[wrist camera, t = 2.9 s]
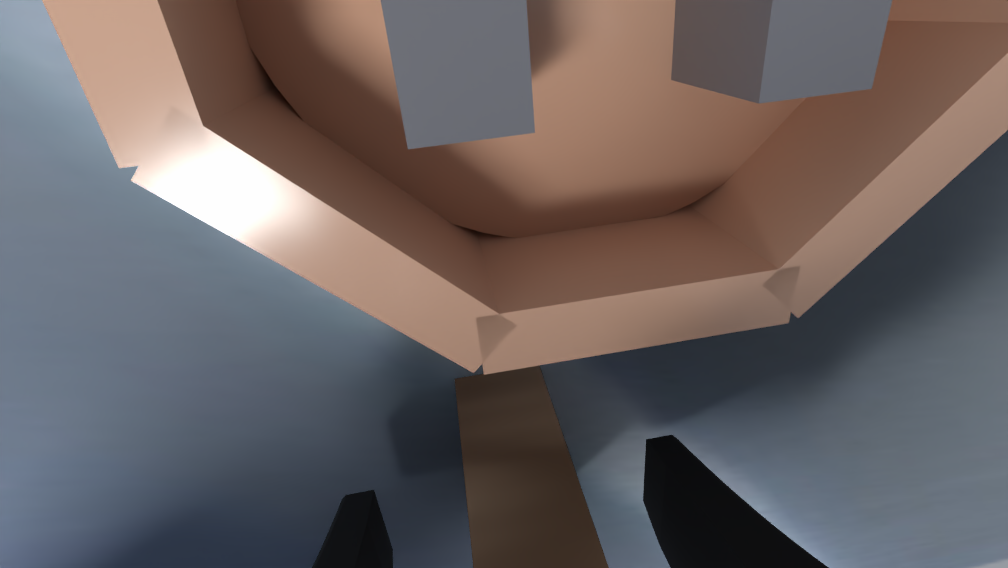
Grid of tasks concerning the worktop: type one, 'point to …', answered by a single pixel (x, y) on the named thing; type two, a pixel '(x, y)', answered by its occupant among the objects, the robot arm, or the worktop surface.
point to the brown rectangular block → (521, 477)
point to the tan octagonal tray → (549, 150)
